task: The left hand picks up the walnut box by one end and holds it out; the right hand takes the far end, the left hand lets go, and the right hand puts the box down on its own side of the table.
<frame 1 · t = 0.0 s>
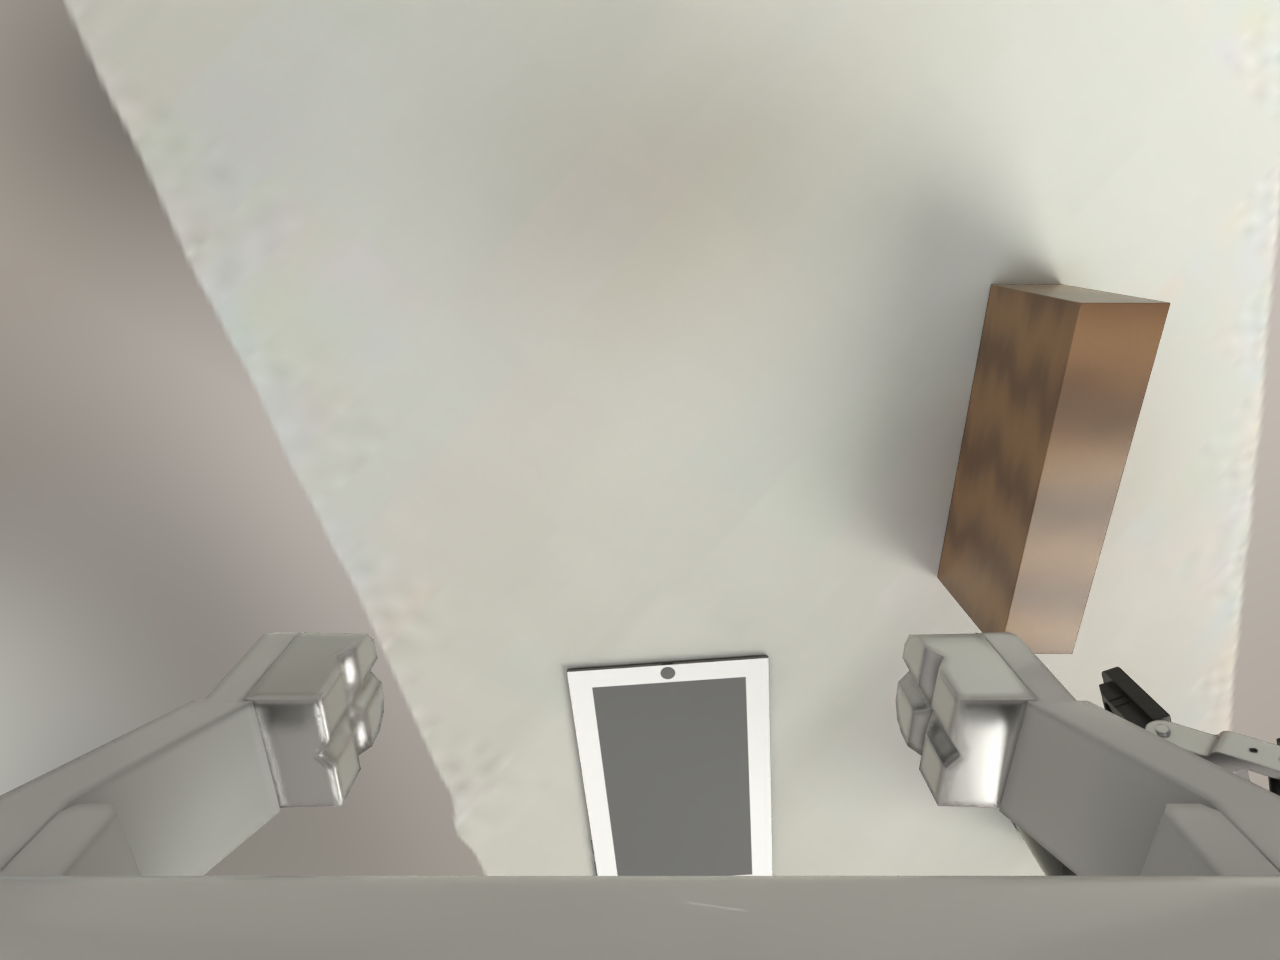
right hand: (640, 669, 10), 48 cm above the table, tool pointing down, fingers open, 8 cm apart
box: (994, 443, 60), on the table
tablet: (676, 782, 74), on the table
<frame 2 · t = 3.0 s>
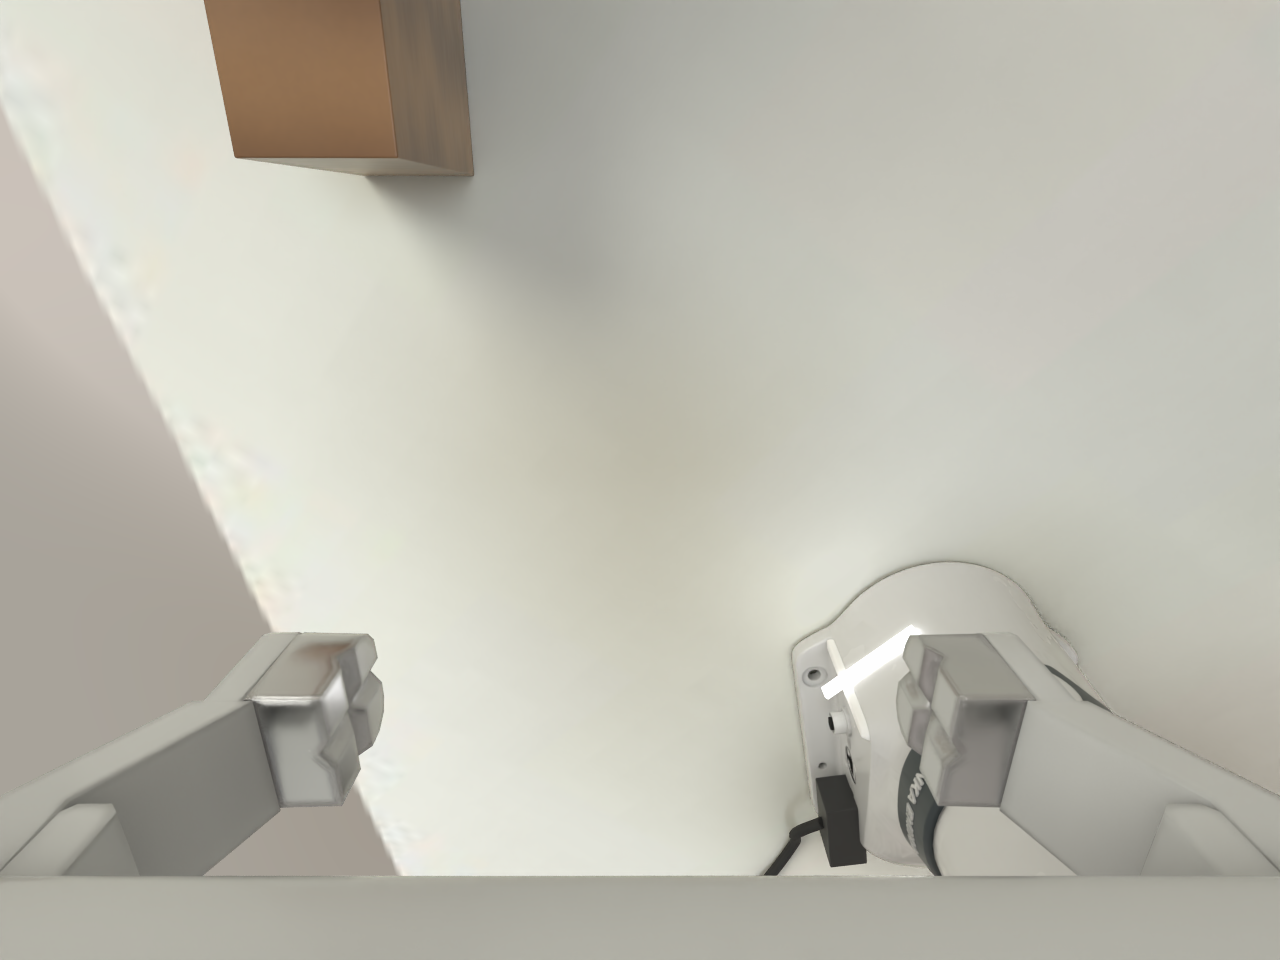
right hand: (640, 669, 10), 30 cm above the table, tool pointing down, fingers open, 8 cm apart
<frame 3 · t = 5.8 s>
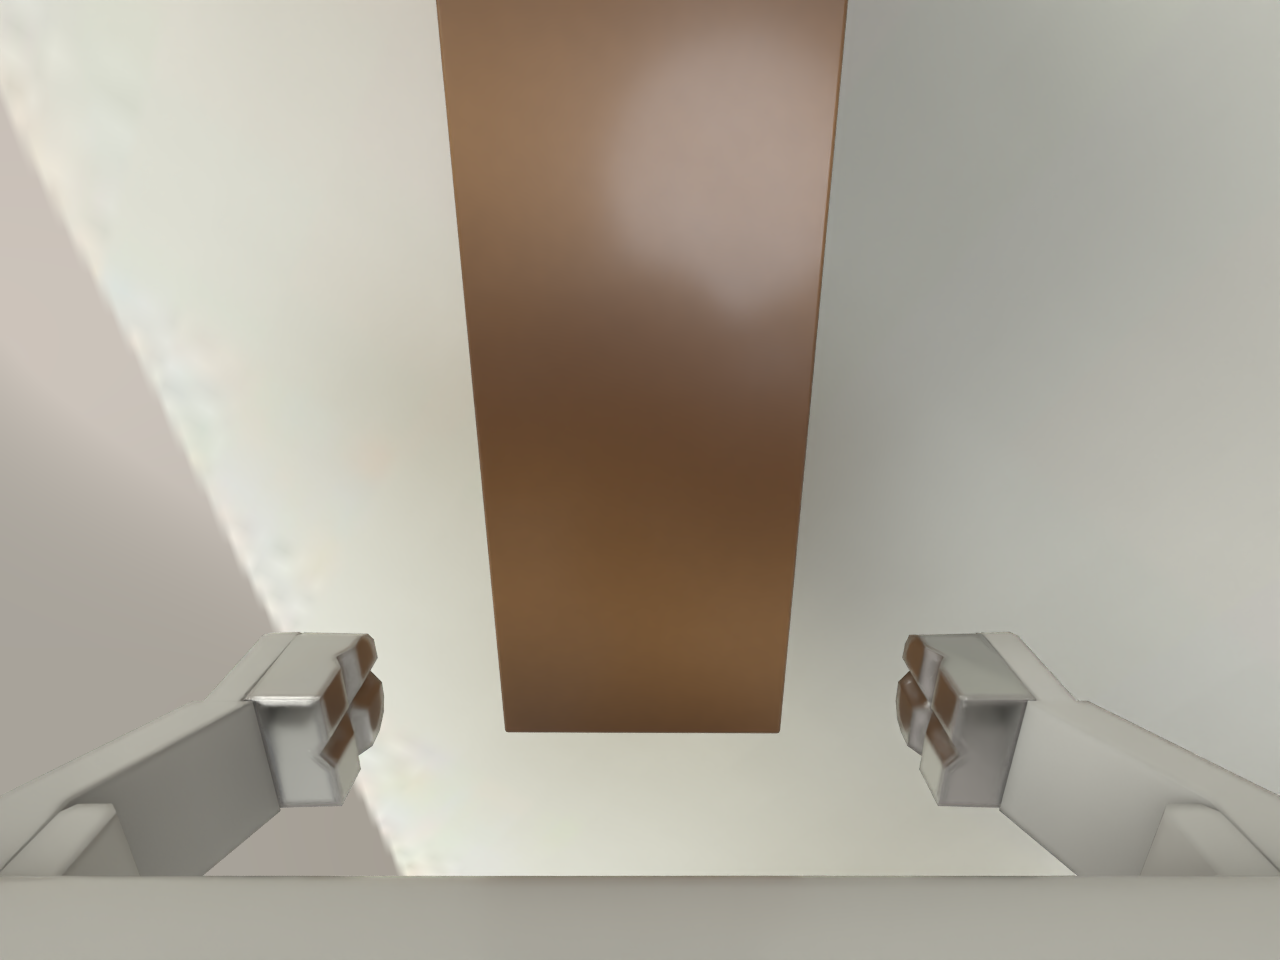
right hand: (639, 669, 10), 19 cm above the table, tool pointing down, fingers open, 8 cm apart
box: (643, 93, 20), point 4 cm above the table, touching left hand
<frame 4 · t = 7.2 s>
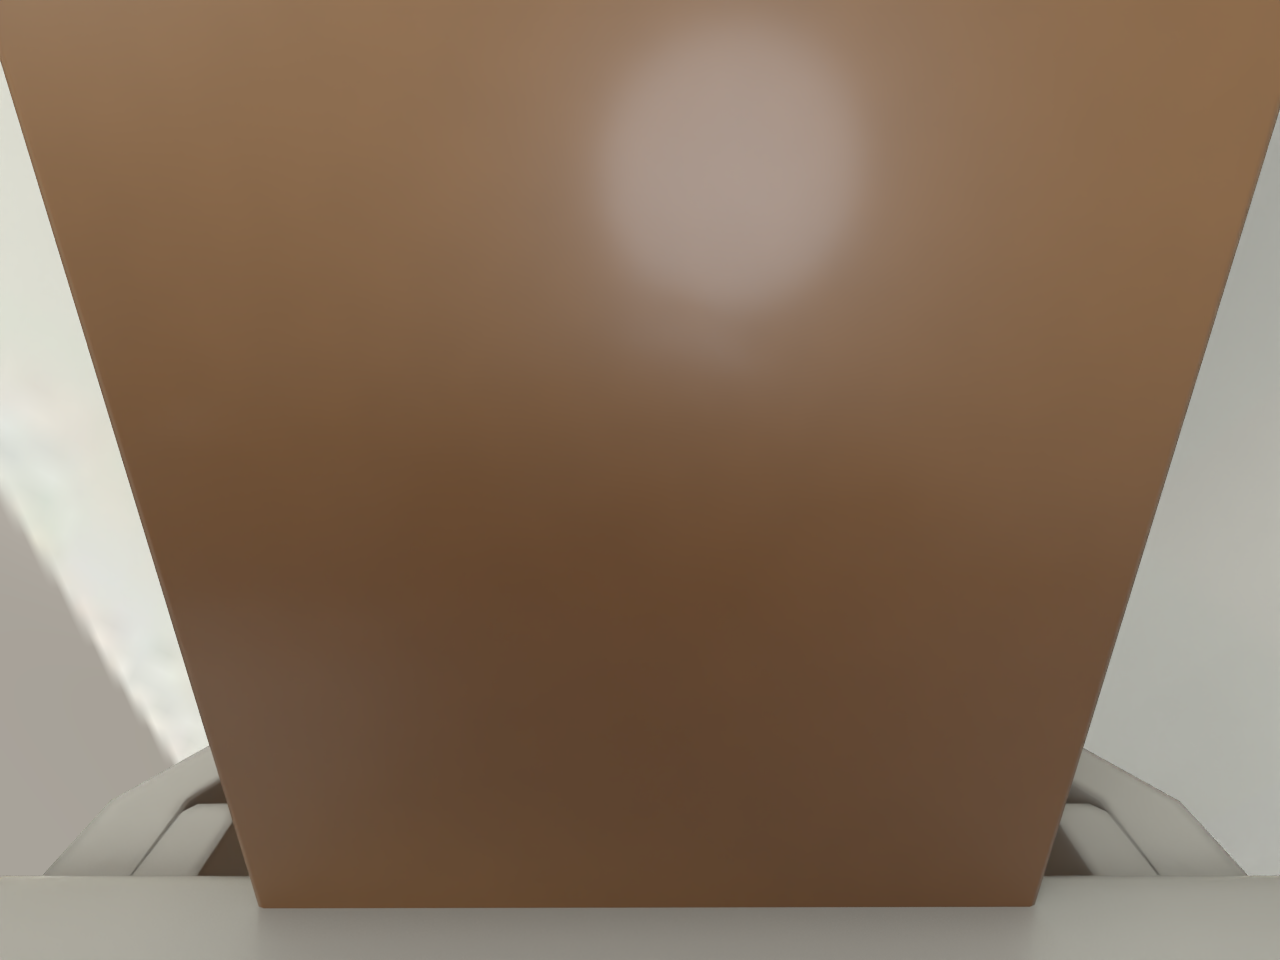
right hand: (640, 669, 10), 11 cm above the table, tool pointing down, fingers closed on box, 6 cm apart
box: (640, 23, 13), point 4 cm above the table, touching right hand, left hand
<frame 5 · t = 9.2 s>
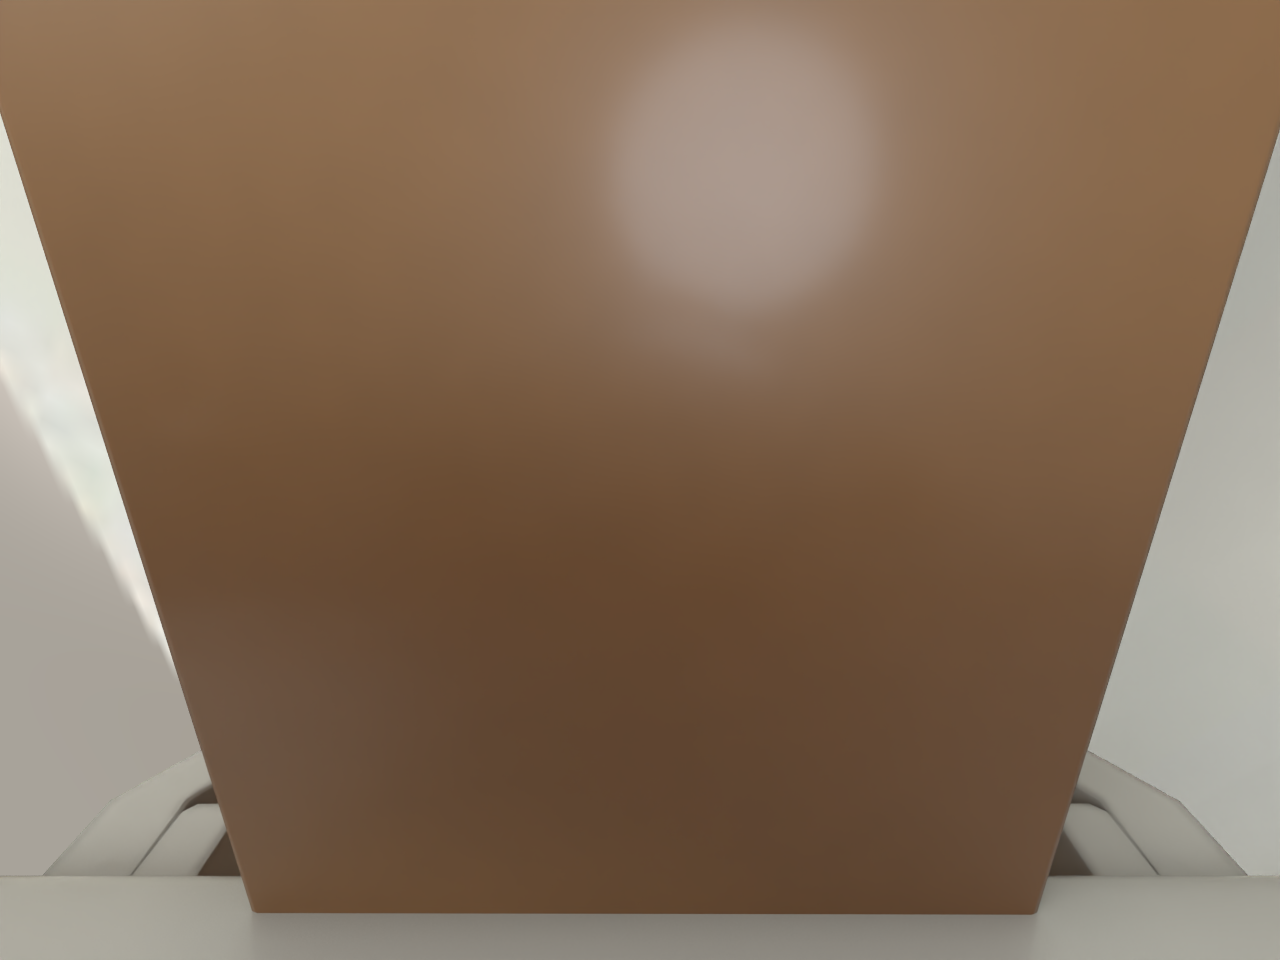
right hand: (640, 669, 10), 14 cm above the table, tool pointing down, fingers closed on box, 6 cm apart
box: (641, 20, 13), point 7 cm above the table, touching right hand
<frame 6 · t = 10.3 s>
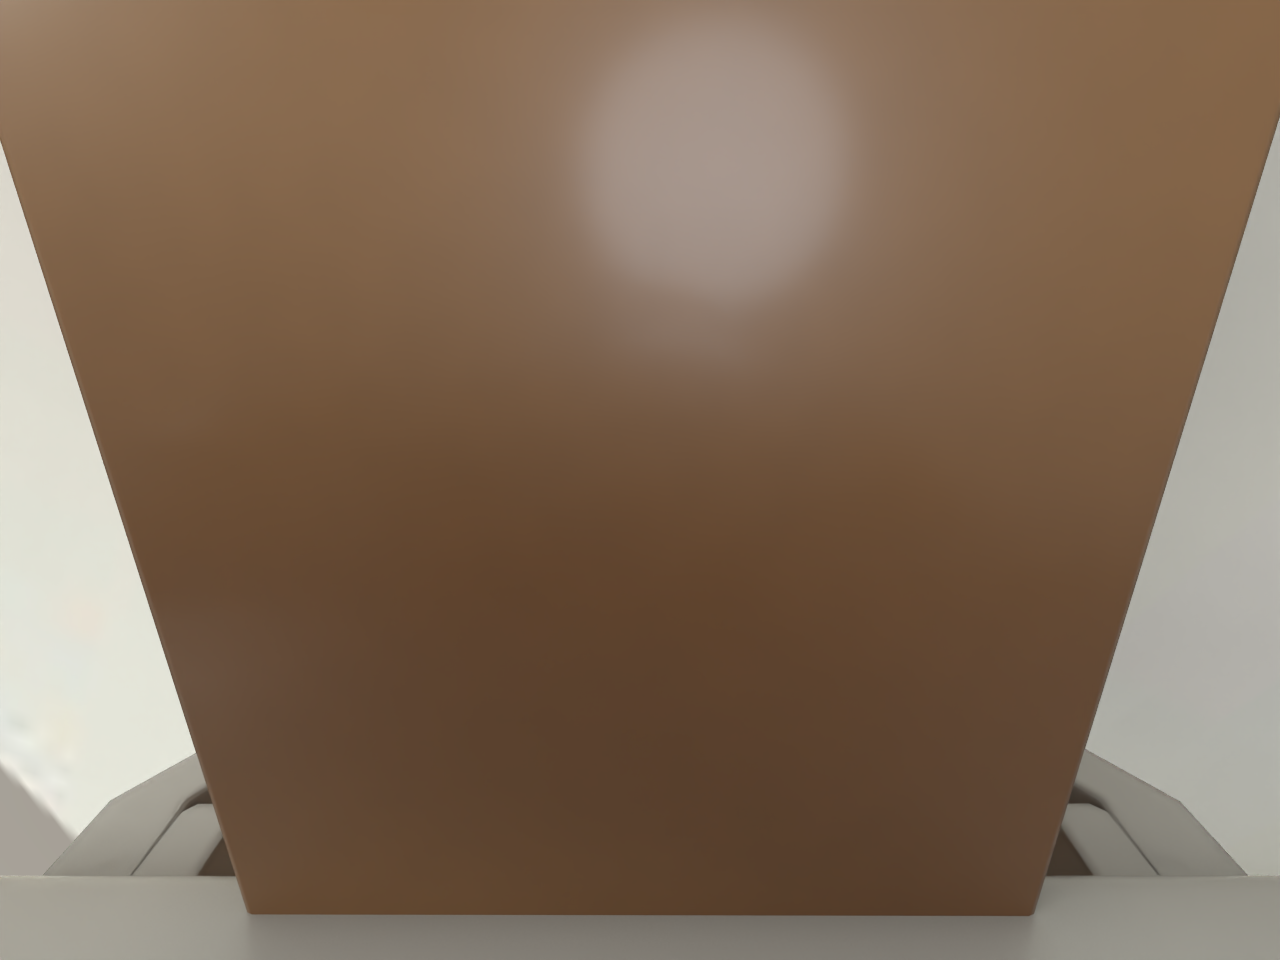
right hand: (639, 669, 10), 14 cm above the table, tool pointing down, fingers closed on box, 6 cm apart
box: (639, 19, 13), point 7 cm above the table, touching right hand
when the right hand's fingers open (8 cm above the table, at t = 13.4 s): box stays where it is, on the table.
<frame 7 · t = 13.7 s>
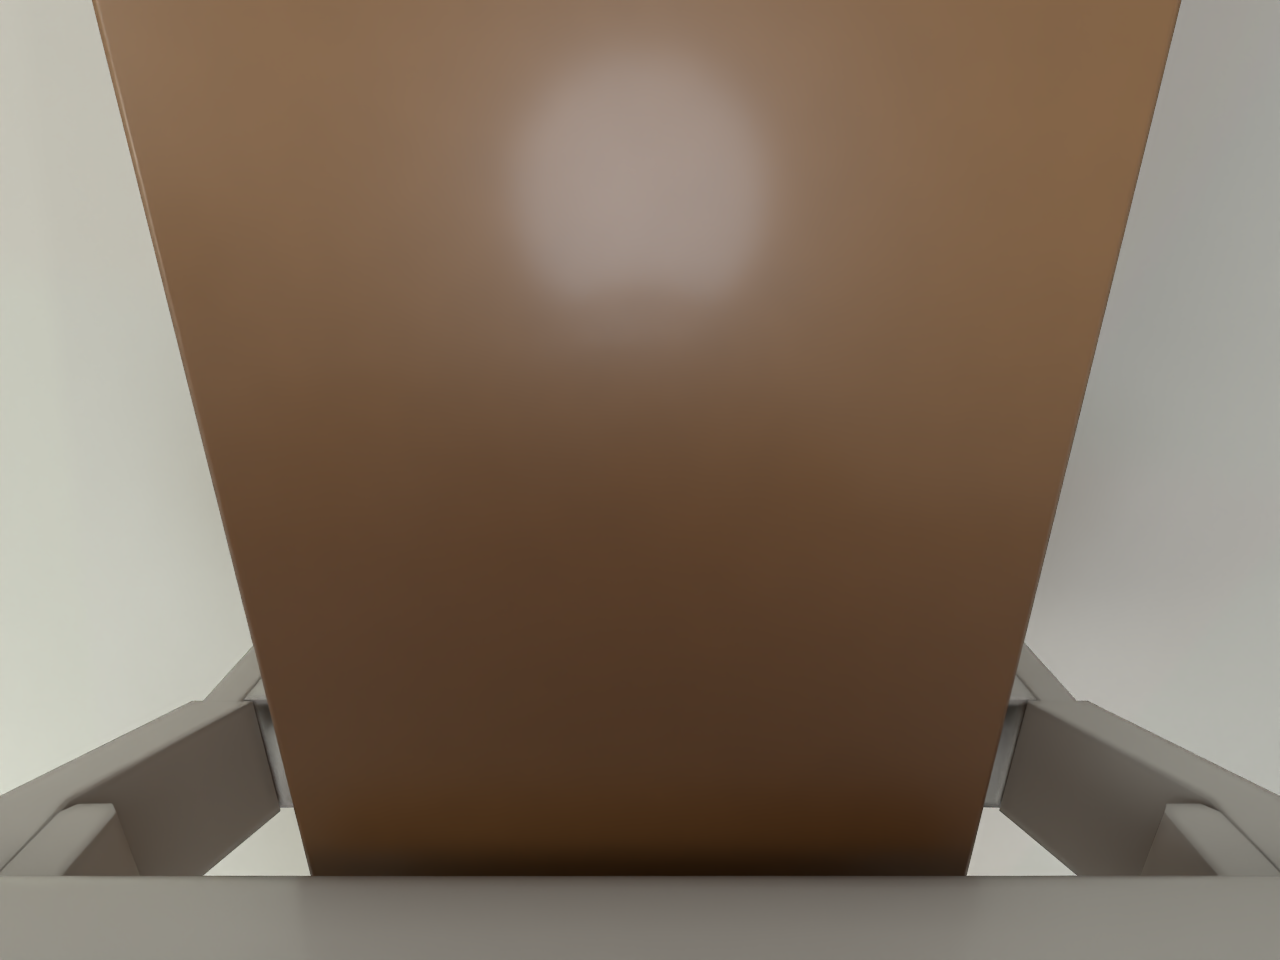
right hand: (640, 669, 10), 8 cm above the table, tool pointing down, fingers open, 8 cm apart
box: (638, 51, 14), on the table
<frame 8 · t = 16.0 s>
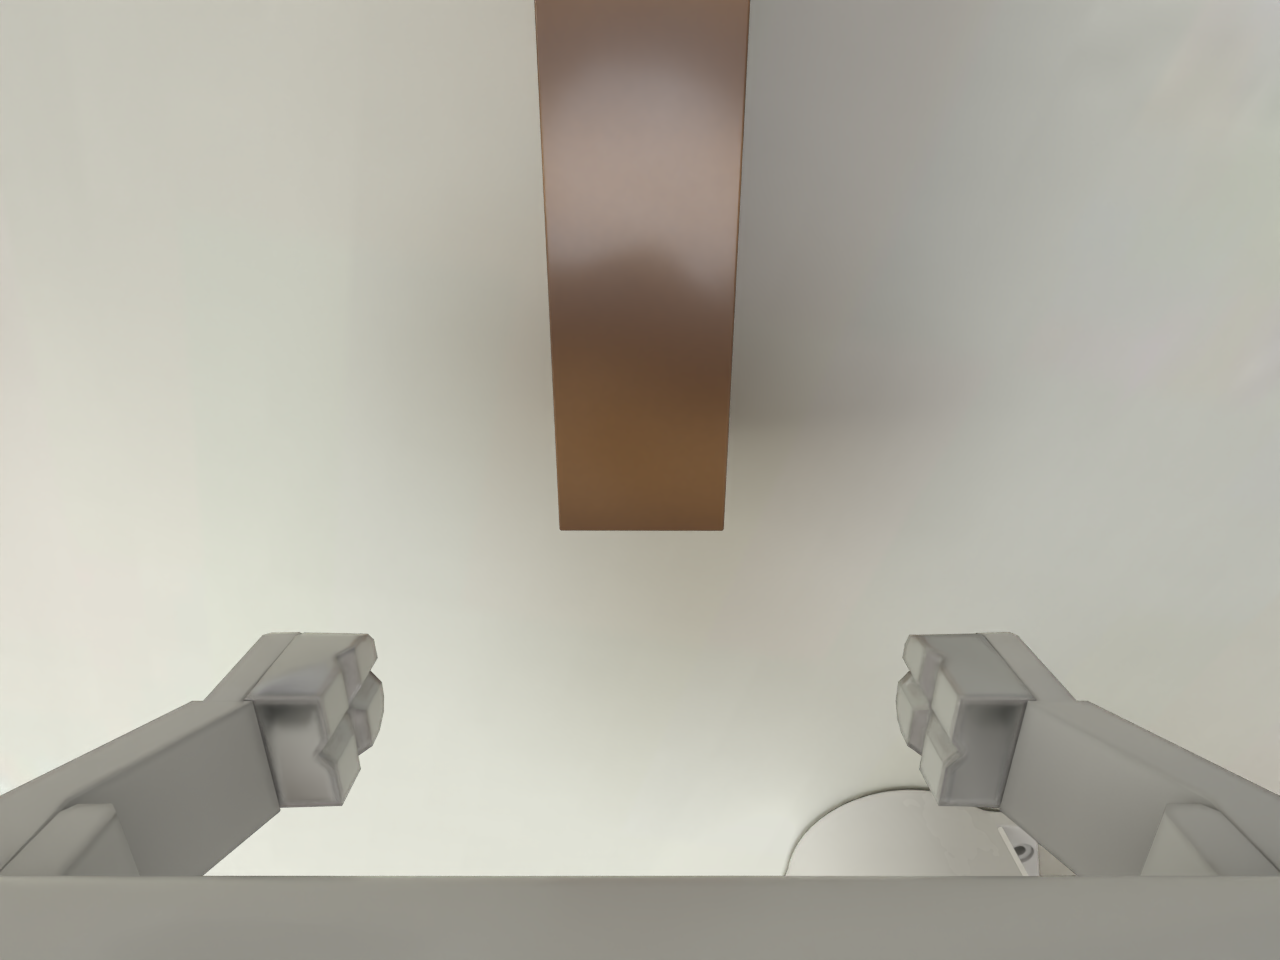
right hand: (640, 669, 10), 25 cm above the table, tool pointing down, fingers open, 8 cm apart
box: (641, 139, 30), on the table
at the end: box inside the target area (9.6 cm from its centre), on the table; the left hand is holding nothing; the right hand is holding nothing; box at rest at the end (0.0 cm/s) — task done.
